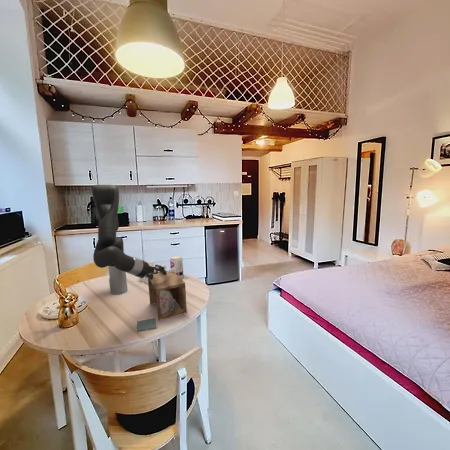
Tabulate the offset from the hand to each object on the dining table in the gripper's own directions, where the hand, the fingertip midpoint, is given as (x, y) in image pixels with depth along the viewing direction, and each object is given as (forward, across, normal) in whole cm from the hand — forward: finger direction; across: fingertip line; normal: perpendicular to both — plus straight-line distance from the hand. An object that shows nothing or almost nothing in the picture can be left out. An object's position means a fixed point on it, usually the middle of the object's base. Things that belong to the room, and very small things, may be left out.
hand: (159, 275), depth 131 cm
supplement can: (+39, +17, -10) cm, 44 cm away
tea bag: (+10, +3, +15) cm, 18 cm away
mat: (-4, +3, +24) cm, 25 cm away
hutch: (+10, +3, +15) cm, 18 cm away
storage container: (+30, +26, -7) cm, 40 cm away
